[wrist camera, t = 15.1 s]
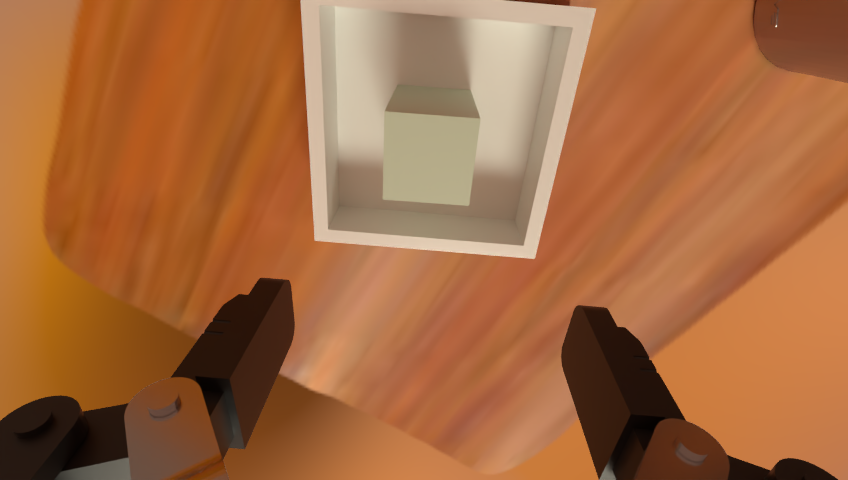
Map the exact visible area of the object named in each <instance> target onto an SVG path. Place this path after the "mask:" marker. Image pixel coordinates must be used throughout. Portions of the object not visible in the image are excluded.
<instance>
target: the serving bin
mask: <svg viewBox="0 0 848 480" xmlns="http://www.w3.org/2000/svg"><path fill="white" fill-rule="evenodd" d="M595 11H596V8H585V7H574V6H562V5H551V4H540V3H529V2H518V1H506V0H301V17H302V34H303V51H304V68H305V85H306V102H307V118H308V135H309V152H310V169H311V186H312V203H313V220H314V236H315V241H325V242H337V243H349V244H362V245H374V246H386V247H398V248H410V249H422V250H434V251H446V252H458V253H470V254H482V255H495V256H507V257H519V258H531V259H535V256H536V251H537V247H538V243H539V239H540V235H541V231H542V227H543V223H544V219H545V215H546V211H547V207H548V203H549V199H550V194H551V190H552V186H553V182H554V178H555V174H556V170H557V166H558V162H559V158H560V154H561V150H562V146H563V141H564V137H565V133H566V129H567V125H568V121H569V117H570V113H571V109H572V105H573V101H574V97H575V93H576V89H577V84H578V80H579V76H580V72H581V68H582V64H583V60H584V56H585V52H586V48H587V44H588V40H589V36H590V32H591V27H592V23H593V19H594V15H595ZM397 85H411V86H424V87H437V88H451V89H464V90H471V92H472V95H473V98H474V101H475V104H476V107H477V110H478V113H479V115H480V118H481V119H480V127H479V134H478V142H477V150H476V157H475V165H474V172H473V180H472V187H471V195H470V203H469V206H463V205H450V204H436V203H423V202H409V201H396V200H383V157H384V111H385V109H386V107H387V105H388V103H389V101H390V99H391V97H392V95H393V93H394V91H395V89H396V87H397Z"/></svg>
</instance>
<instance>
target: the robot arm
mask: <svg viewBox="0 0 848 480" xmlns="http://www.w3.org/2000/svg"><path fill="white" fill-rule="evenodd" d="M754 32H755V38H756V41H757V43H758V46H759V49H760V50H761V52H762V53H763V54H764V56H765V57H766V58H767V60H769V61H770V62H772V63H773V64H774V65H776V66H777V67H780V68H783V69H786V70H789V71H793V72H798V73H802V74H807V75H812V76H817V77H822V78H827V79H832V80H836V81H841V82H846V83H848V0H757V2H756V5H755V13H754ZM294 327H295V322H294V312H293V302H292V291H291V284H290V281H289V280H283V279H271V278H260V279H259V280H258V281H257V283H256V284H255V286H254V287H253V289H252V290H251V292H250V293H249V295H243V294H238V295H237V296H236V297H234V298H233V299H231V300H230V301H228V302H227V303H226V304H224V305H223V306H222V307H221V309H220V310H219V311H218V313H217V314H216V316H215V317H214V318H213V322H210V324H209V325H208V327H207V328H206V329H205V332H204V334H202V335H201V336H200V338H199V339H198V340H197V342H196V343H195V345H194V346H193V348H192V349H191V350H190V352H189V353H188V354H187V356H186V357H185V359H184V360H183V361H182V363H181V364H180V366H179V367H178V368H177V370H176V371H175V372H174V374H173V375H172V376H171V378H168V379H164V380H160V381H158V382H156V383H153V384H151V385H149V386H147V387H146V388H144V389H143V390H142V391H140V392H139V393H138V394H136V396H134V398H133V399H132V400H131V401H130V402H129V403H128V404H124V405H118V406H112V407H106V408H101V409H96V410H89V411H84V412H83V411H82V409H81V407H80V405H79V403H78V402H77V401H76V400H75V399H73V398H71V397H68V396H51V397H45V398H41V399H38V400H35V401H33V402H30V403H28V404H25V405H23V406H21V407H20V408H18V409H16V410H14V411H13V412H11V413H10V414H8V415H7V416H6V417H4V418H3V419H2V420H1V421H0V480H229V477H228V474H227V471H226V468H225V464H224V462H223V459H224V457H225V455H226V452H227V451H228V448H239V449H245V447H246V445H247V443H248V441H249V438H250V436H251V434H252V432H253V429H254V427H255V425H256V423H257V420H258V418H259V416H260V413H261V411H262V409H263V407H264V405H265V402H266V400H267V398H268V395H269V393H270V391H271V389H272V386H273V384H274V382H275V379H276V377H277V375H278V373H279V371H280V368H281V366H282V364H283V362H284V359H285V357H286V355H287V353H288V350H289V348H290V346H291V343H292V340H293V335H294ZM561 359H562V367H563V371H564V374H565V377H566V380H567V383H568V386H569V389H570V392H571V395H572V398H573V401H574V404H575V407H576V411H577V414H578V417H579V420H580V423H581V426H582V429H583V432H584V435H585V438H586V441H587V444H588V447H589V450H590V454H591V457H592V460H593V463H594V466H595V469H596V472H597V475H598V478H599V480H838V479H836V478H835V477H834V476H832V475H831V474H829V473H828V472H826V471H825V470H823V469H821V468H819V467H817V466H815V465H813V464H811V463H809V462H806V461H803V460H799V459H793V458H787V459H782V460H780V461H779V462H778V463H777V464H776V465H775V466H774V467H773V469H772V470H771V471H770V470H767V469H765V468H762V467H759V466H756V465H753V464H750V463H748V462H745V461H742V460H739V459H736V458H733V457H731V456H728V455H727V454H726V452H725V451H724V449H723V448H722V446H721V445H720V444H719V443H718V441H717V440H716V439H715V438H713V437H712V436H711V435H710V434H709V433H708V432H706V431H705V430H703V429H702V428H700V427H699V426H697V425H695V424H693V423H690V422H687V421H686V420H685V418H684V416H683V415H682V413H681V411H680V409H679V408H678V406H677V404H676V402H675V401H674V399H673V397H672V396H671V394H670V392H669V390H668V389H667V387H666V385H665V383H664V382H663V380H662V378H661V377H660V375H659V374H658V373H657V372H656V368H655V366H654V364H653V363H652V361H651V360H649V356H648V354H647V352H646V351H645V349H644V347H643V345H642V344H641V342H640V341H639V340H638V339H637V338H636V337H635V336H634V335H633V334H631V333H630V332H629V331H628V330H627V329H626V328H624V327H617V325H616V323H615V321H614V320H613V318H612V316H611V314H610V312H609V310H608V309H607V308H604V307H593V306H581V305H578V306H576V308H575V309H574V312H573V315H572V318H571V321H570V324H569V327H568V331H567V334H566V337H565V340H564V343H563V346H562V354H561Z"/></svg>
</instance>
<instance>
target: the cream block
mask: <svg viewBox="0 0 848 480" xmlns="http://www.w3.org/2000/svg"><path fill="white" fill-rule="evenodd" d="M480 119H481V118H480V115H479V113H478V110H477V107H476V104H475V101H474V98H473V95H472V92H471V90H464V89H451V88H437V87H424V86H411V85H397V87H396V89H395V91H394V93H393V95H392V97H391V99H390V101H389V103H388V105H387V107H386V109H385V111H384V157H383V200H396V201H409V202H423V203H436V204H450V205H463V206H469V203H470V195H471V187H472V180H473V172H474V165H475V157H476V150H477V142H478V134H479V127H480Z"/></svg>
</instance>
